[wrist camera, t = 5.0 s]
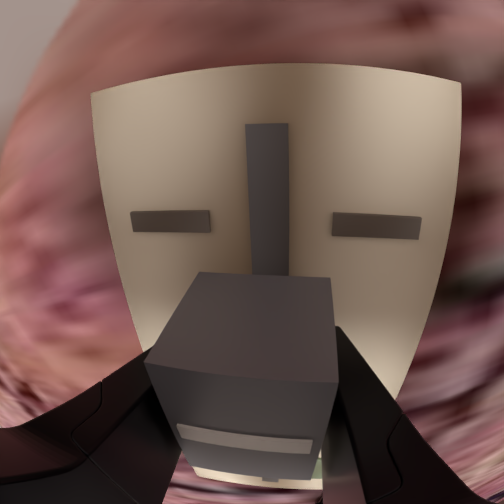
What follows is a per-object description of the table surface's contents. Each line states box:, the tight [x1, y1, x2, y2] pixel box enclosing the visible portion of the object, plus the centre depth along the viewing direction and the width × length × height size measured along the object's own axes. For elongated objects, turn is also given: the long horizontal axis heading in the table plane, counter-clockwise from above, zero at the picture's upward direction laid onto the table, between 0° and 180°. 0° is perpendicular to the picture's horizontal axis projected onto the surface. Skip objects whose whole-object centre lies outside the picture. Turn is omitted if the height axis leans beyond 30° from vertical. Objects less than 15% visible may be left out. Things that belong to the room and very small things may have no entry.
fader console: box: [91, 63, 461, 489], centre depth 12 cm, size 10×22×3 cm, turn 3°
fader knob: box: [144, 272, 339, 480], centre depth 7 cm, size 3×4×4 cm
